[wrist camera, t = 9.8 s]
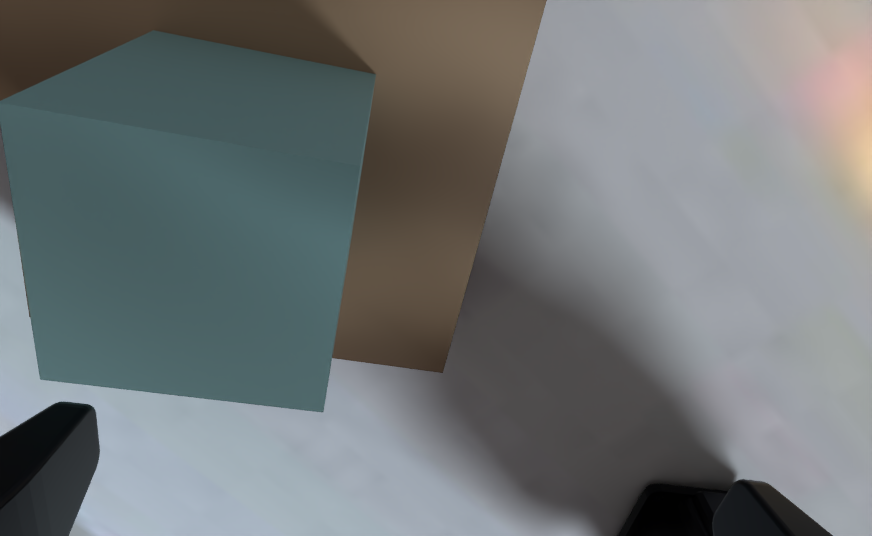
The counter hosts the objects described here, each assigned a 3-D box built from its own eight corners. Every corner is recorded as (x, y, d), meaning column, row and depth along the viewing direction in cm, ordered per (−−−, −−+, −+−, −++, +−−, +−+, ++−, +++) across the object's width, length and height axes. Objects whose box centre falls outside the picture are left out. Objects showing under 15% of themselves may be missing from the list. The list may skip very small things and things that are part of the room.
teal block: (348, 257, 17) (323, 412, 11) (158, 227, 16) (40, 379, 11) (375, 74, 14) (359, 165, 9) (153, 30, 13) (-3, 102, 8)
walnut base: (437, 317, 21) (442, 372, 19) (78, 264, 20) (29, 317, 17) (535, -59, 16) (561, -54, 13) (36, -182, 14) (-48, -204, 11)
